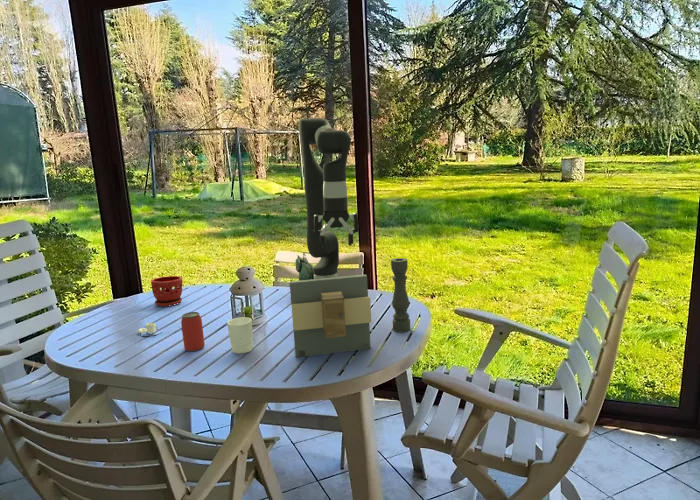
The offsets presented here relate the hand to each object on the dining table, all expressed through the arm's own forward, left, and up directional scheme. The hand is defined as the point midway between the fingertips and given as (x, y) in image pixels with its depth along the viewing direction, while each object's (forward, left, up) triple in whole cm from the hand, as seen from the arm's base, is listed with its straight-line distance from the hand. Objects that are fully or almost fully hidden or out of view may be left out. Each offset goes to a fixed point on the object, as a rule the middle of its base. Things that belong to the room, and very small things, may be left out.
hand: (336, 246), depth 157 cm
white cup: (-26, -21, -33) cm, 47 cm away
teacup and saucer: (-73, -24, -34) cm, 84 cm away
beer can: (-42, -28, -33) cm, 60 cm away
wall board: (+1, -7, -33) cm, 34 cm away
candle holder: (+11, +20, -33) cm, 40 cm away
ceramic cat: (-47, +38, -33) cm, 69 cm away
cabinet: (+7, -13, -24) cm, 28 cm away
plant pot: (-99, +1, -33) cm, 104 cm away
